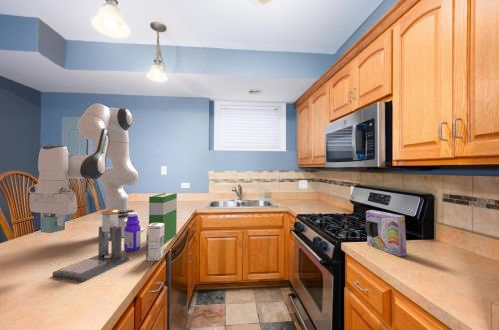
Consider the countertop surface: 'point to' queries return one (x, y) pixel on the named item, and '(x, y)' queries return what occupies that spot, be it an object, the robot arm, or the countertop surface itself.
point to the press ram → (109, 221)
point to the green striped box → (164, 213)
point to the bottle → (132, 233)
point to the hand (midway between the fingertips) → (53, 225)
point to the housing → (51, 224)
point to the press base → (96, 259)
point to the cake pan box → (386, 232)
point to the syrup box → (155, 242)
